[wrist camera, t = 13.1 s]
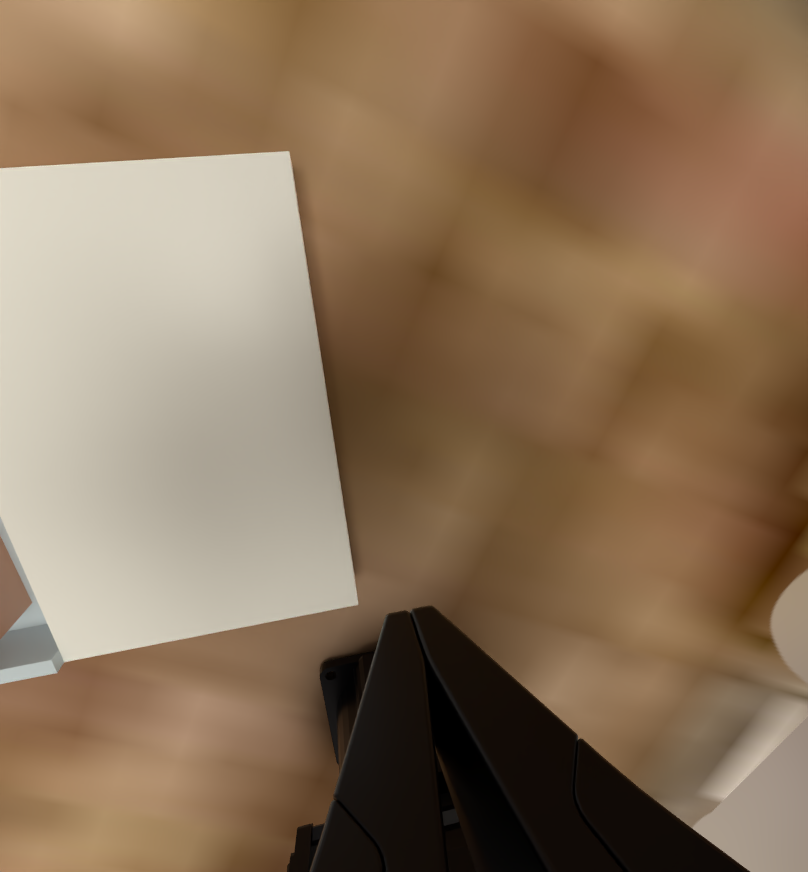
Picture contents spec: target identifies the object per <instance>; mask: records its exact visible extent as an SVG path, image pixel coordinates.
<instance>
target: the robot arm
mask: <svg viewBox="0 0 808 872" xmlns="http://www.w3.org/2000/svg"><path fill="white" fill-rule="evenodd" d="M331 671H333V673H328V672H331ZM320 680H321V685H322V690H323V695H324V700H325V705H326V710H327V715H328V720H329V725H330V730H331V735H332V740H333V745H334V750H335V755H336V760H337V763H338V764H339V778H338V781H337V784H336V788H335V791H334V795H333V799H334V800H333V801H332V802H331V804H330V807H329V811H328V814H327V818H326V821H325V823H324V824H320V825H316V826H313V823H312V824H308V825H304V826H300V827H298V828H297V835H296V844H295V853H291V856H290V863H289V864H288V865H287V872H750V871H749V870H747V869H746V868H744V867H743V866H742V865H740V864H739V863H738V862H736V861H735V860H734V859H732V858H731V857H730V856H728V855H727V854H726V853H724V852H723V851H722V850H720V849H719V848H718V847H716V846H715V845H714V844H712V843H711V842H709V841H708V840H707V839H705V838H704V837H703V836H701V835H700V834H699V833H697V832H696V831H695V830H693V829H692V828H691V827H689V826H688V825H687V824H685V823H684V822H683V821H681V820H680V819H679V818H677V817H676V816H675V815H673V814H672V813H671V812H670V811H668V810H667V809H666V808H664V807H663V806H662V805H661V804H659V803H658V802H657V801H655V800H654V799H653V798H652V797H650V796H649V795H648V794H646V793H645V792H644V791H643V790H641V789H640V788H639V787H637V786H636V785H635V784H634V783H633V782H632V781H630V780H629V779H628V778H627V777H626V776H625V775H623V774H622V773H621V772H620V771H619V770H617V769H616V768H615V767H614V766H613V765H612V764H610V763H609V762H608V761H607V760H606V759H605V758H603V757H602V756H601V755H600V754H599V753H598V752H597V751H595V750H594V749H593V748H592V747H591V746H590V745H589V744H588V743H587V742H585V741H584V740H583V739H579V740H578V735H577V734H576V733H575V732H574V731H573V730H572V729H571V728H569V727H568V726H567V725H566V724H565V723H564V722H563V721H562V720H560V719H559V718H558V717H557V716H556V715H555V714H554V713H553V712H551V711H550V710H549V709H548V708H547V707H546V706H545V705H544V704H543V703H541V702H540V701H539V700H538V699H537V698H536V697H535V696H534V695H532V694H531V693H530V692H529V691H528V690H527V689H526V688H525V687H523V686H522V685H521V684H520V683H519V682H518V681H517V680H516V679H514V678H513V677H512V676H511V675H510V674H509V673H508V672H507V671H505V670H504V669H503V668H502V667H501V666H500V665H499V664H498V663H496V662H495V661H494V660H493V659H492V658H491V657H490V656H489V655H487V654H486V653H485V652H484V651H483V650H482V649H481V648H480V647H479V646H477V645H476V644H475V643H474V642H473V641H472V640H471V639H470V638H468V637H467V636H466V635H465V634H464V633H463V632H462V631H461V630H459V629H458V628H457V627H456V626H455V625H454V624H453V623H452V622H450V621H449V620H448V619H447V618H446V617H445V616H444V615H443V614H441V613H440V612H439V611H438V610H437V609H436V608H435V607H433V606H424V607H419V608H414V609H412V610H411V611H410V613H409V612H408V611H407V610H404V611H399V612H394V613H389V614H387V615H386V617H385V620H384V623H383V627H382V630H381V633H380V637H379V640H378V644H377V647H376V651H373V652H369V653H364V654H359V655H354V656H349V657H345V658H340V659H335V660H330V661H327V662H325V663H324V664H322V666H321V667H320Z"/></svg>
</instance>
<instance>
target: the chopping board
mask: <svg viewBox="0 0 808 872" xmlns="http://www.w3.org/2000/svg"><path fill="white" fill-rule="evenodd" d="M0 517H1V519H2V522H3V524H4V526H5V529H6V531H7V533H8V535H9V538H10V540H11V542H12V544H13V547H14V549H15V551H16V554H17V556H18V558H19V560H20V563H21V565H22V567H23V569H24V572H25V574H26V576H27V579H28V581H29V583H30V585H31V588H32V590H33V592H34V595H35V597H36V599H37V601H38V604H39V606H40V608H41V610H42V613H43V615H44V617H45V620H46V622H47V624H48V626H49V629H50V631H51V633H52V635H53V638H54V640H55V642H56V645H57V647H58V649H59V651H60V654H61V656H62V658H63V660H64V662H67V661H72V660H78V659H83V658H88V657H93V656H98V655H103V654H108V653H113V652H119V651H124V650H129V649H134V648H139V647H144V646H149V645H155V644H160V643H165V642H170V641H175V640H180V639H185V638H190V637H196V636H201V635H206V634H211V633H216V632H221V631H226V630H231V629H237V628H242V627H247V626H252V625H257V624H262V623H267V622H272V621H278V620H283V619H288V618H293V617H298V616H303V615H308V614H314V613H319V612H324V611H329V610H334V609H339V608H344V607H349V606H355V605H358V598H357V590H356V582H355V574H354V568H353V561H352V555H351V548H350V542H349V535H348V528H347V522H346V515H345V509H344V502H343V495H342V489H341V482H340V476H339V469H338V463H337V456H336V449H335V443H334V436H333V430H332V423H331V417H330V410H329V403H328V397H327V390H326V384H325V377H324V370H323V364H322V357H321V351H320V344H319V338H318V331H317V324H316V318H315V311H314V305H313V298H312V292H311V285H310V278H309V272H308V265H307V259H306V252H305V245H304V239H303V232H302V226H301V219H300V213H299V206H298V199H297V193H296V186H295V180H294V173H293V167H292V162H291V157H290V153H289V151H283V152H267V153H250V154H233V155H216V156H199V157H183V158H166V159H149V160H132V161H115V162H98V163H82V164H65V165H48V166H31V167H14V168H0Z"/></svg>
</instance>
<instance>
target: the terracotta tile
mask: <svg viewBox="0 0 808 872" xmlns="http://www.w3.org/2000/svg"><path fill="white" fill-rule="evenodd" d="M31 604H32V601H31V599H30V597H29V595H28V593H27V590H26V588H25V586H24V584H23V582H22V580H21V578H20V576H19V574H18V572H17V570H16V567H15V565H14V563H13V561H12V559H11V557H10V555H9V553H8V551H7V549H6V546H5V544H4V542H3V540H2V538H1V536H0V639H1V638H2V637H3V636H4V635H5V634H6V632H7V631H8V630H9V629H10V628H11V627H12V626H13V624H14V623H15V622H16V621H17V620H18V619H19V618H20V616H21V615H22V614H23V613H24V612H25V611H26V610H27V608H28V607H29V606H30V605H31Z"/></svg>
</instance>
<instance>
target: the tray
mask: <svg viewBox="0 0 808 872" xmlns="http://www.w3.org/2000/svg"><path fill="white" fill-rule="evenodd" d="M0 536H1V538H2V540H3V542H4V544H5V546H6V549H7V551H8V553H9V555H10V557H11V559H12V561H13V563H14V565H15V567H16V570H17V572H18V574H19V576H20V578H21V580H22V582H23V584H24V586H25V588H26V590H27V593H28V595H29V597H30V599H31V601H32V604H31V605H30V606H29V607H28V608H27V610H26V611H25V612H24V613H23V614H22V615H21V616H20V618H19V619H18V620H17V621H16V622H15V623H14V624H13V626H12V627H11V628H10V629H9V630H8V631H7V632H6V634H5V635H4V636H3V637H2V638H1V639H0V684H3V683H8V682H13V681H18V680H23V679H28V678H33V677H39V676H44V675H49V674H54V673H57V672H58V671H59V669H60V668H61V666H62V665H63V663H64V660H63V658H62V656H61V654H60V651H59V649H58V647H57V645H56V642H55V640H54V638H53V635H52V633H51V631H50V629H49V626H48V624H47V622H46V620H45V617H44V615H43V613H42V610H41V608H40V606H39V604H38V601H37V599H36V597H35V595H34V592H33V590H32V588H31V585H30V583H29V581H28V579H27V576H26V574H25V572H24V569H23V567H22V565H21V563H20V560H19V558H18V556H17V554H16V551H15V549H14V547H13V544H12V542H11V540H10V538H9V535H8V533H7V531H6V529H5V526H4V524H3V522H2V519H1V517H0Z"/></svg>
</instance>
